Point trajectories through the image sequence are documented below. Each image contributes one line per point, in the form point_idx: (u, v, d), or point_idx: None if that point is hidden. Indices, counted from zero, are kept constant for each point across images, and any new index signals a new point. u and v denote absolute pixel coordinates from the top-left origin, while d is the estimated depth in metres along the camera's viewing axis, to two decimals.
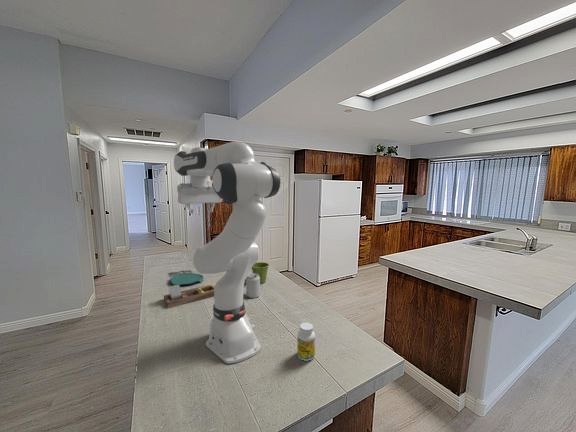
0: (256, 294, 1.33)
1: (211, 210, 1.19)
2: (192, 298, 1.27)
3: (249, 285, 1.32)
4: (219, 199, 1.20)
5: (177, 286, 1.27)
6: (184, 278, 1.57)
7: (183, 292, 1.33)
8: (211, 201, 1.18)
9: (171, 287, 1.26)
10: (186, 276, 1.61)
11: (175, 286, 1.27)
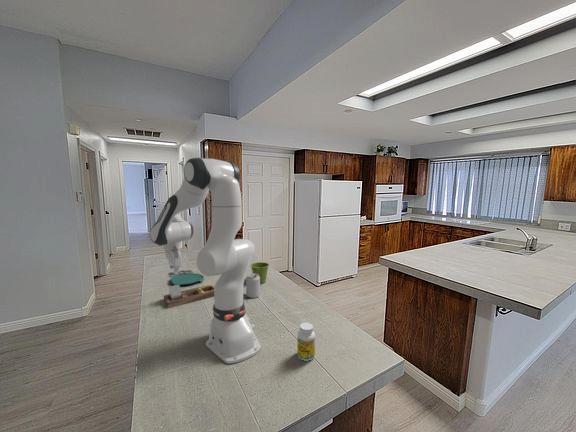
0: (256, 294, 1.33)
1: None
2: (192, 298, 1.27)
3: (249, 285, 1.32)
4: None
5: (177, 286, 1.27)
6: (184, 278, 1.57)
7: (183, 292, 1.33)
8: None
9: (171, 287, 1.26)
10: (186, 276, 1.61)
11: (175, 286, 1.27)
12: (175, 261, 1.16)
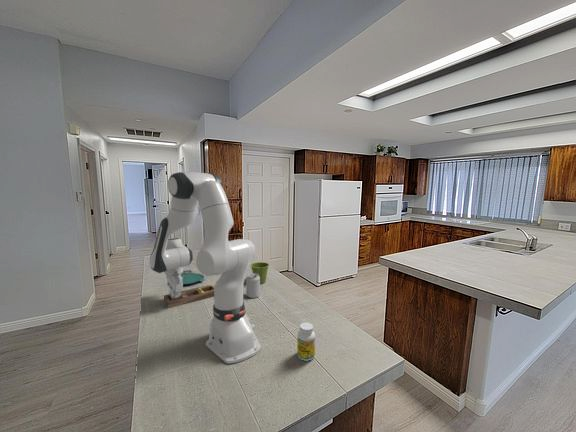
0: (256, 294, 1.33)
1: None
2: (192, 298, 1.27)
3: (249, 285, 1.32)
4: None
5: None
6: (185, 278, 1.58)
7: (183, 292, 1.33)
8: None
9: (171, 287, 1.26)
10: (187, 276, 1.61)
11: None
12: (176, 287, 1.18)
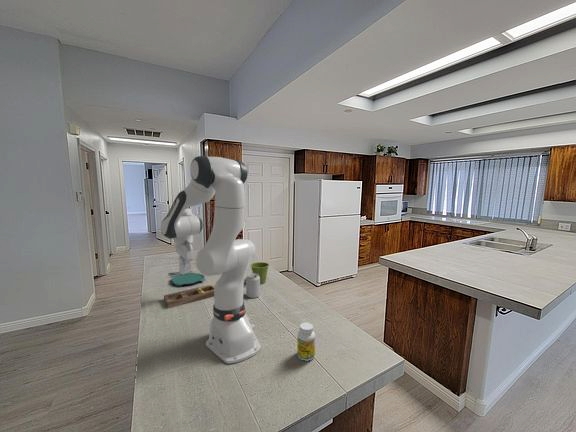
0: (256, 294, 1.33)
1: None
2: (192, 298, 1.27)
3: (249, 285, 1.32)
4: None
5: None
6: (185, 278, 1.58)
7: (183, 292, 1.33)
8: None
9: (181, 257, 1.27)
10: (187, 276, 1.61)
11: None
12: (187, 254, 1.19)
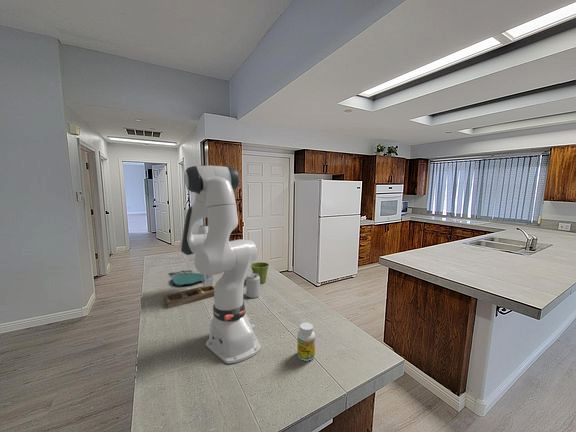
0: (256, 294, 1.33)
1: None
2: (192, 298, 1.27)
3: (249, 285, 1.32)
4: None
5: None
6: (185, 278, 1.58)
7: (183, 292, 1.33)
8: None
9: None
10: (187, 276, 1.61)
11: None
12: None
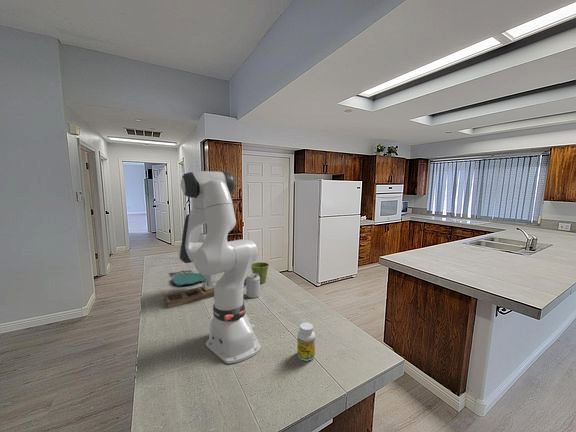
0: (256, 294, 1.33)
1: None
2: (192, 298, 1.27)
3: (249, 285, 1.32)
4: None
5: None
6: (186, 278, 1.58)
7: (183, 292, 1.33)
8: None
9: (204, 280, 1.36)
10: (187, 276, 1.61)
11: None
12: (211, 277, 1.28)
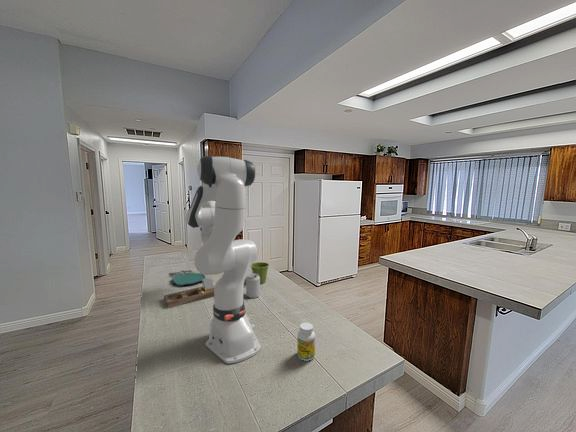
0: (256, 294, 1.33)
1: None
2: (192, 298, 1.27)
3: (249, 285, 1.32)
4: None
5: (209, 279, 1.37)
6: (186, 278, 1.58)
7: (183, 292, 1.33)
8: None
9: (204, 280, 1.36)
10: (188, 276, 1.61)
11: (207, 279, 1.37)
12: None
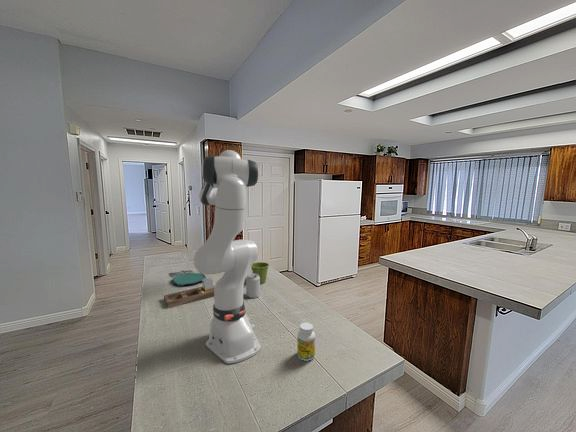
0: (256, 294, 1.33)
1: None
2: (192, 298, 1.27)
3: (249, 285, 1.32)
4: None
5: (209, 279, 1.37)
6: (186, 278, 1.58)
7: (183, 292, 1.33)
8: None
9: (204, 280, 1.36)
10: (188, 276, 1.61)
11: (207, 279, 1.37)
12: None
